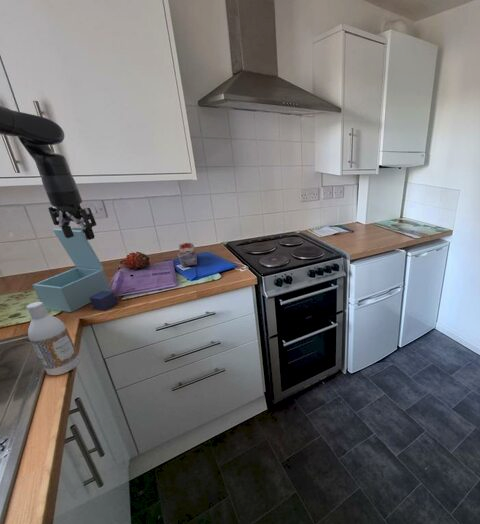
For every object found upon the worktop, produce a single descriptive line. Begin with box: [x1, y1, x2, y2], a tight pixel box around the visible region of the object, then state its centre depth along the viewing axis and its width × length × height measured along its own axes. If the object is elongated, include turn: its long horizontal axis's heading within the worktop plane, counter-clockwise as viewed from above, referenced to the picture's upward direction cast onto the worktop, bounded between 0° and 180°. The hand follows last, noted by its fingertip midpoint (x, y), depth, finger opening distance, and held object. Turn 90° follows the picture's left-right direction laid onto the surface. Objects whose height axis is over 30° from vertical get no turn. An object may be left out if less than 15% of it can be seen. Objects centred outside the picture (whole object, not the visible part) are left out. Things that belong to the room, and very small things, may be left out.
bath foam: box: [26, 301, 81, 376], centre depth 78 cm, size 7×7×20 cm
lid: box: [52, 227, 104, 270], centre depth 115 cm, size 16×13×5 cm
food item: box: [177, 242, 198, 267], centre depth 146 cm, size 14×8×10 cm, turn 31°
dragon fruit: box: [119, 251, 150, 271], centre depth 141 cm, size 8×8×12 cm
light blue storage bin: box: [32, 266, 112, 313], centre depth 113 cm, size 16×13×10 cm
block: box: [89, 291, 119, 312], centre depth 110 cm, size 5×5×5 cm
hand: (80, 238), depth 100 cm, fingers open, 8 cm apart
